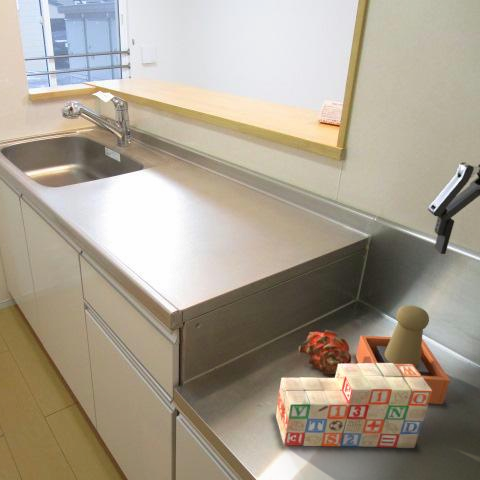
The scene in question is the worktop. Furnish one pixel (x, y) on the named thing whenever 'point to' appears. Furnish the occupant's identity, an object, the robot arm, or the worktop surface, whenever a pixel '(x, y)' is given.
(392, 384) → the stack of blocks
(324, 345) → the dragon fruit
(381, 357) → the grey block
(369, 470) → the worktop surface
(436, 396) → the crate
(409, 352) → the cork
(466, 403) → the worktop surface
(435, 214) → the robot arm
